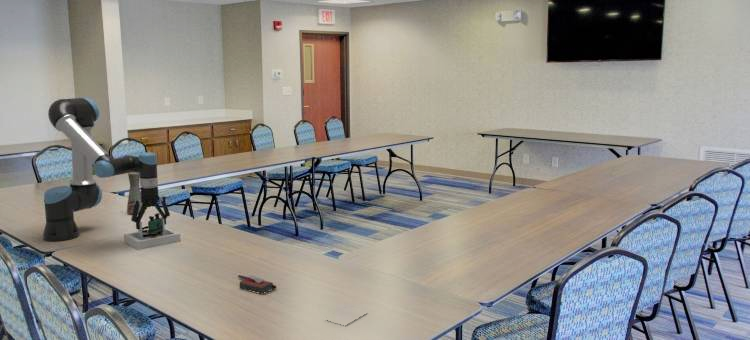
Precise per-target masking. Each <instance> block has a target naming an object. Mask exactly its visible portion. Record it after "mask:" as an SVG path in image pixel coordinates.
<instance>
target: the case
mask: <svg viewBox="0 0 750 340" xmlns="http://www.w3.org/2000/svg"><path fill="white" fill-rule="evenodd" d="M146 230H147V233H146V232H142V235H145V234H148V230H149V229H146ZM162 233H163V236H158V235H157V236H158V237H156V238H151V237H144V238H143V236H142V237H141V236H139V234H138V231H135V232H129V233H124V234H123V243H126V244H127V245H129V246H131V247H132V248H134V249H136V250H142V249H148V248H152V247H156V246H163V245H168V244H171V243H177V242H181V233H179V232H178V231H175V230H173V229H171V228H169V227H167V226H165V232H162Z"/></svg>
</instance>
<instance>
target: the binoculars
mask: <svg viewBox="0 0 750 340" xmlns="http://www.w3.org/2000/svg"><path fill="white" fill-rule="evenodd" d="M161 218H162V217H160V213H159V212H157V213H155V214H154V216H153V215H152V216H150V215H149V216H148V219H149V221H147V226H142V232H146V233H147V230H148V234H145V235H143V238H144V237H151V238H156V237H158V236H163V233H162V230H163V227H162V223H161ZM157 235H158V236H157Z"/></svg>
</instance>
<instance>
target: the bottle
mask: <svg viewBox="0 0 750 340" xmlns="http://www.w3.org/2000/svg"><path fill="white" fill-rule="evenodd" d="M127 176H128V181H129V190H128V198H127V199H128V200H127V205H126V212H127V215H132V214H133V210H134V205H135V204H134V200H140V199H141V186H140V173H135V172H131V173H127ZM142 204H143V203H142V202H140V204H139V210H138V214H139V211H140V209H141V206H142ZM138 214H137V215H138Z"/></svg>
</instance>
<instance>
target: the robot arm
mask: <svg viewBox="0 0 750 340" xmlns="http://www.w3.org/2000/svg"><path fill="white" fill-rule="evenodd" d="M99 110H100V109H99V107H98V105H97V103H95V101H94V100H92V99H91V98H87V97H74V98H61V99H57V100H55V101H53V103H51V105H49V109H48V111H47V113H48V119H49V122H50V124H51V125H52V127H54V129H55V130H57V131H58V132H62V133H63V135H64V136H66V137H67V139H69V141H70V142H71V145H70V146H71V160H72V162H71V163H72V164H71V165H72V166H71V168H72V180H70V182H69V185H59V186H55V187H51V188H48V189H47V190H45V191H44V193H43V203H44V211H45V212H44V214H45V225H44V230H43V233H42V239H43V241H47V242H61V241H67V240H73V239H75V238H78V237H79V236H80V229H79V228H78V225H77V223H76V221H75V219H74V218H75V215H74V213H75V212H79V211H83V210H89V209H92V208H95V207H97V206H98V205H99V204H100V203H101V202H102V198H103V191H102V188H101V186H100V185H99V184H98V183H97V181H96V180H95V179H94V177H93V176H94V175H93V172H94V174H95V176H97V177H98V178H101V179H103V178H111V177H114V176H119V175H125V174H128V173H131V172H135V173H140V179H139V187H140V192H141V199H140V200H134V204H135V205H134V210H133V214H131V220H130V221H132V222H133V223H135V229H136V230H137V232H138V234H139V236H141V237H142V236H143V235H142V228H143V222H142V221H141V220H142V219H143V216H144V214H145V212H146V210H147V209H148V208H150V207H151V208H152V207H154V208H155V209H156V210H157V213H159V216H161V217H160V218H161V223H162V227H163V230H162V232H165V227H166V226H165V225H166V224H167V219H168V217H170V216H171V213H170V211H169V208H168V205H167V202H166V196H163V195H161V196H160V195H159V186H158V185H159V183H158V182H159V180H158V179H159V178H158V161H157V160H158V159H157V154H156V153H155V152H151V151H150V152H147V151H146V152H141V153H139V154H138V156H136V155H130V154H128V155H125V154H124V155H121V156H120V157H117V158H113V157H111V155H110V154H108V153H107V152H106V150H105V149H104V148H103V147H102V146H101V145H100V144H99V143H98V142H97V141H96V140H95V139H94V138H93V137H92V133H91V130H92V129H93V128H95V122H97V120H98V119H99V118H100V111H99ZM159 201H160V203H161V207H162V208H161V207H160V205H159V203H158V202H159ZM140 202H142V203H143V204H142V206H141V209H140V211H139V214H138V210H139V204H140Z"/></svg>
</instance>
